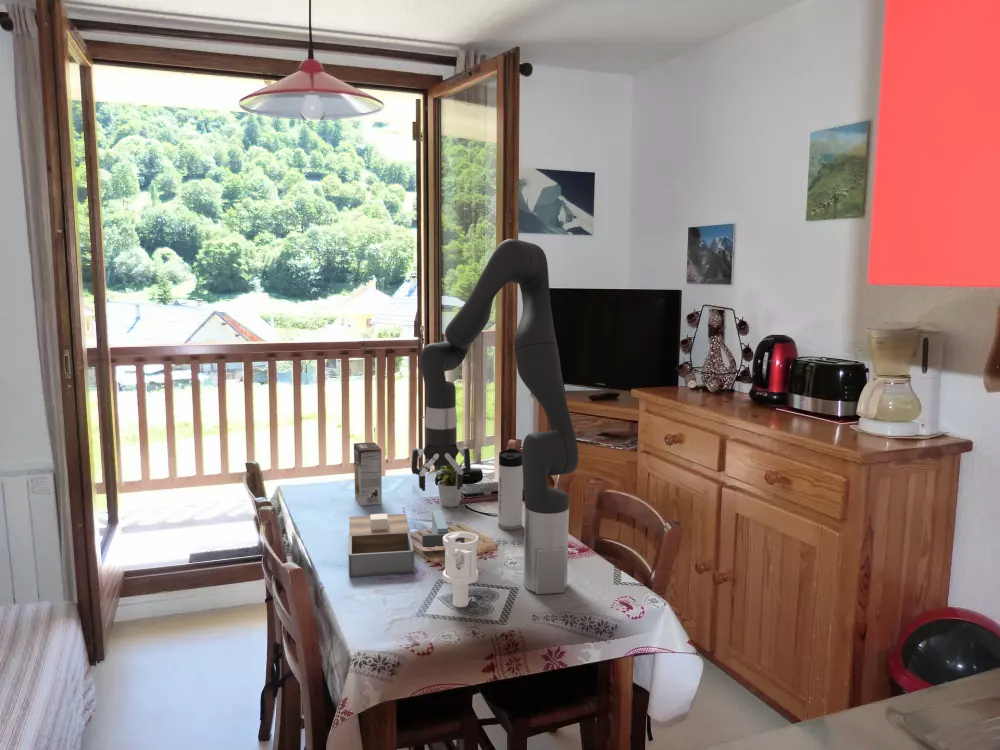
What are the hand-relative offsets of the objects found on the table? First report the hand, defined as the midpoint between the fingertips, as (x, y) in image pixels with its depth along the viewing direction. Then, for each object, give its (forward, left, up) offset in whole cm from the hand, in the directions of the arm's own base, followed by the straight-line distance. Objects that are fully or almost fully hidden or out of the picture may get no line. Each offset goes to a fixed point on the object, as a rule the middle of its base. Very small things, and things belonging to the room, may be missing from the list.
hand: (441, 489), depth 188 cm
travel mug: (+7, -19, -13) cm, 24 cm away
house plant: (+29, -5, -13) cm, 32 cm away
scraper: (+1, 0, -13) cm, 13 cm away
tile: (-2, +15, -8) cm, 17 cm away
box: (-14, +15, -13) cm, 24 cm away
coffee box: (+35, +17, -13) cm, 41 cm away
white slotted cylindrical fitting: (-37, 0, -13) cm, 39 cm away
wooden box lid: (-1, +15, -13) cm, 20 cm away
